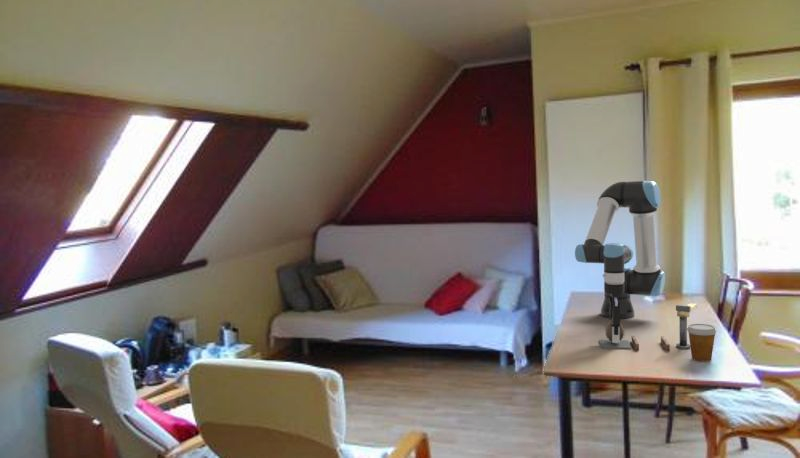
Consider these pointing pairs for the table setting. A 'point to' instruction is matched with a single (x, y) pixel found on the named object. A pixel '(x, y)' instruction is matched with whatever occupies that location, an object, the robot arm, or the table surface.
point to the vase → (609, 331)
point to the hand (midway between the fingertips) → (614, 339)
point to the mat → (614, 344)
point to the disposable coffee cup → (701, 341)
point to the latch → (685, 309)
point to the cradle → (663, 341)
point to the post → (683, 334)
